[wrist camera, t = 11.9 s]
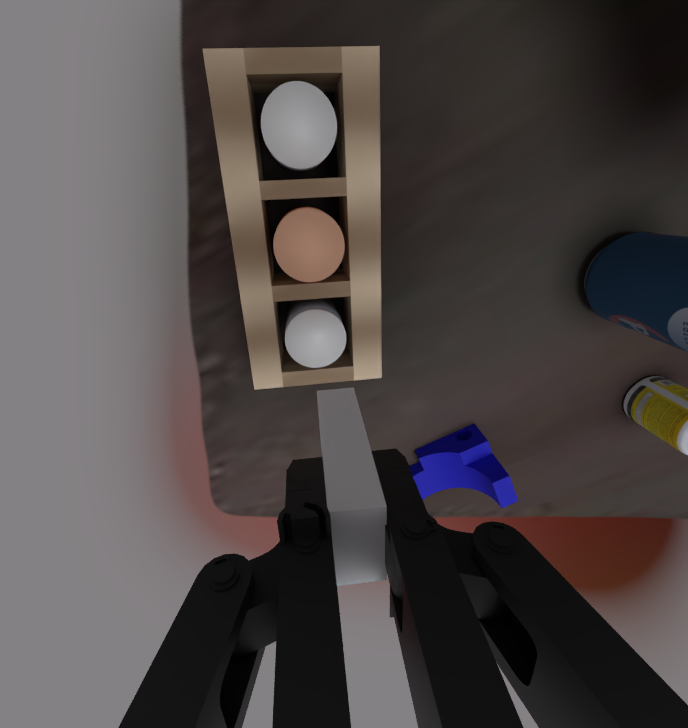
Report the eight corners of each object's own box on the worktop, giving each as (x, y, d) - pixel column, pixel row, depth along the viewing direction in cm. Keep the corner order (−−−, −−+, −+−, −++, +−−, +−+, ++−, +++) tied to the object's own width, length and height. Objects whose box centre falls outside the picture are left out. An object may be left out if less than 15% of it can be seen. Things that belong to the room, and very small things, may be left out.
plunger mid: (273, 207, 26) (269, 210, 21) (334, 204, 26) (342, 206, 22) (279, 269, 27) (277, 284, 23) (337, 265, 28) (346, 279, 23)
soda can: (572, 323, 34) (708, 386, 23) (579, 239, 31) (738, 265, 20) (650, 307, 34) (821, 362, 23) (664, 222, 31) (866, 239, 20)
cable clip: (473, 422, 37) (504, 462, 31) (486, 457, 38) (518, 500, 33) (356, 474, 37) (367, 522, 32) (374, 506, 39) (387, 557, 34)
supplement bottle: (627, 426, 39) (709, 484, 31) (616, 391, 37) (701, 443, 29) (673, 402, 38) (769, 455, 31) (664, 365, 36) (763, 411, 29)
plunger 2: (283, 294, 29) (281, 312, 25) (337, 290, 29) (345, 307, 25) (288, 344, 31) (288, 370, 26) (339, 340, 31) (347, 365, 27)
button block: (217, 73, 24) (202, 48, 20) (365, 70, 25) (379, 46, 21) (259, 364, 32) (254, 389, 27) (370, 354, 32) (381, 377, 28)
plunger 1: (262, 101, 24) (256, 81, 20) (327, 100, 25) (335, 79, 20) (270, 173, 26) (265, 170, 21) (331, 171, 26) (338, 167, 22)
